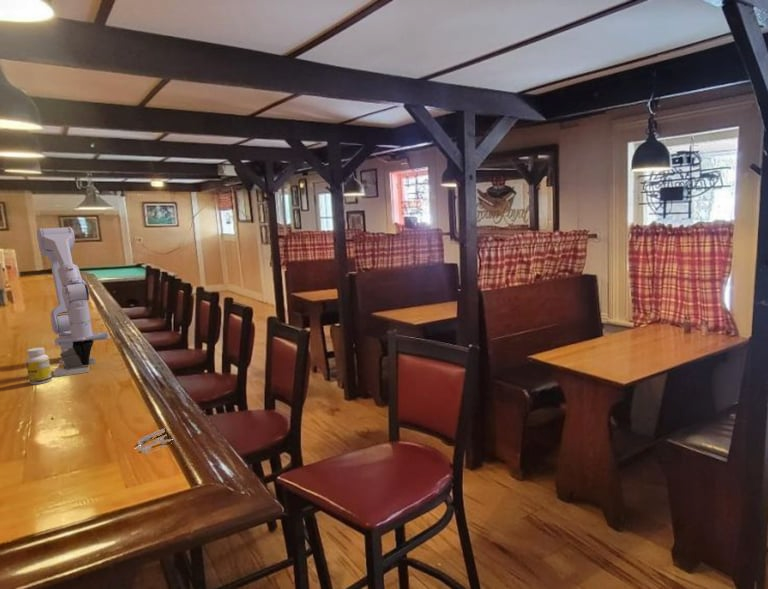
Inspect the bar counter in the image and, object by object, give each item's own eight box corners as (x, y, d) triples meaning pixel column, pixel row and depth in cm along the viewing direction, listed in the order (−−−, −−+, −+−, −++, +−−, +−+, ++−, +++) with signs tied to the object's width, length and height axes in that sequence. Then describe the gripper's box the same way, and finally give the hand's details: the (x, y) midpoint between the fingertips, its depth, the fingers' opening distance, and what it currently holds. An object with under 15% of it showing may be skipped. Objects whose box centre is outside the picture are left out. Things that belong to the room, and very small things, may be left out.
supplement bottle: (25, 383, 147) (20, 350, 145) (45, 378, 151) (40, 346, 150) (36, 385, 144) (31, 352, 143) (56, 380, 149) (51, 347, 147)
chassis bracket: (63, 366, 164) (62, 359, 164) (95, 361, 167) (94, 355, 167) (54, 377, 152) (53, 370, 152) (88, 372, 155) (87, 365, 155)
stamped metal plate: (167, 434, 106) (166, 427, 106) (185, 441, 102) (184, 434, 102) (129, 448, 100) (128, 441, 100) (146, 457, 96) (146, 449, 96)
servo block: (72, 367, 162) (62, 348, 160) (85, 362, 163) (75, 343, 161) (68, 372, 156) (58, 352, 154) (82, 367, 157) (72, 347, 156)
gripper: (49, 327, 152) (56, 371, 154) (104, 321, 157) (110, 364, 159) (55, 323, 159) (61, 365, 161) (107, 317, 164) (113, 358, 166)
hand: (86, 364), depth 160 cm, fingers closed
